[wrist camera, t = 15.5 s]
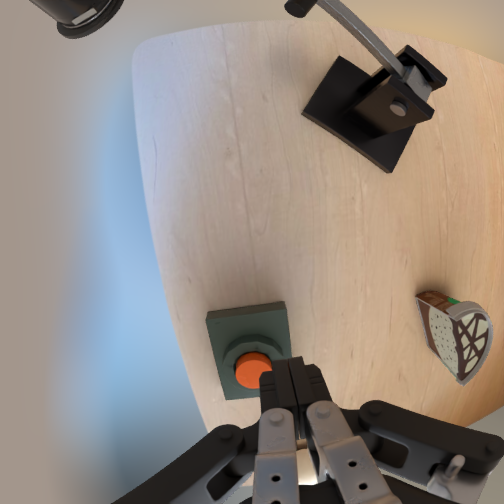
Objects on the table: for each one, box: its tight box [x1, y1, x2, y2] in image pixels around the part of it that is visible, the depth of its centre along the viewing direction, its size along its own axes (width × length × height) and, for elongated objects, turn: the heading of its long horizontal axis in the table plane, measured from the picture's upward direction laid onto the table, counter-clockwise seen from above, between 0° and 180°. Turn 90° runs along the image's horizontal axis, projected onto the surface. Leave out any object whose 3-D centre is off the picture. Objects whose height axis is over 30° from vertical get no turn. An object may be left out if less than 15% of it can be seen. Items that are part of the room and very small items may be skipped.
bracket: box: [301, 45, 447, 173], centre depth 23 cm, size 12×9×13 cm
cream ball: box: [296, 449, 318, 485], centre depth 36 cm, size 7×7×7 cm
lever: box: [284, 0, 432, 102], centre depth 16 cm, size 13×6×2 cm, turn 60°
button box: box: [206, 302, 292, 400], centre depth 33 cm, size 12×9×4 cm
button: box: [236, 352, 272, 389], centre depth 30 cm, size 4×4×2 cm
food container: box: [415, 291, 493, 386], centre depth 29 cm, size 12×6×10 cm, turn 28°
